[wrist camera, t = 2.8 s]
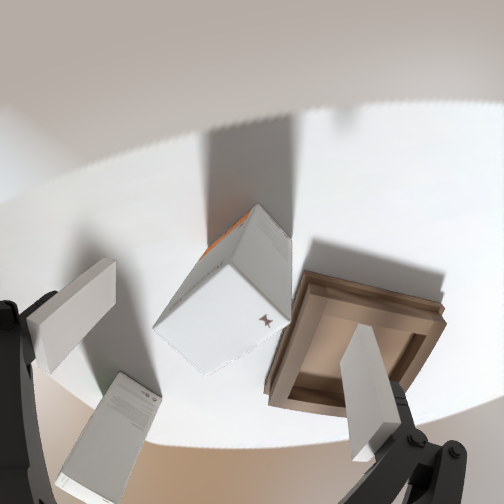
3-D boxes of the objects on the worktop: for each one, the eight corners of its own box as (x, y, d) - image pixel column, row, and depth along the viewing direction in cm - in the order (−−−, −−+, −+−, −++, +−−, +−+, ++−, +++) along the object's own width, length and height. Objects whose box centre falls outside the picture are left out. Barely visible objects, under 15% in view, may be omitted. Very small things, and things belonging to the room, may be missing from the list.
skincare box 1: (120, 369, 33) (58, 469, 19) (167, 399, 34) (122, 506, 19) (102, 398, 36) (50, 483, 21) (142, 424, 37) (101, 514, 22)
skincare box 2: (257, 200, 24) (230, 257, 13) (293, 240, 25) (296, 324, 14) (204, 248, 26) (148, 329, 15) (239, 284, 27) (207, 381, 16)
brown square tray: (264, 387, 31) (261, 407, 28) (303, 270, 26) (305, 286, 23) (381, 405, 31) (386, 424, 28) (441, 303, 26) (453, 319, 23)
